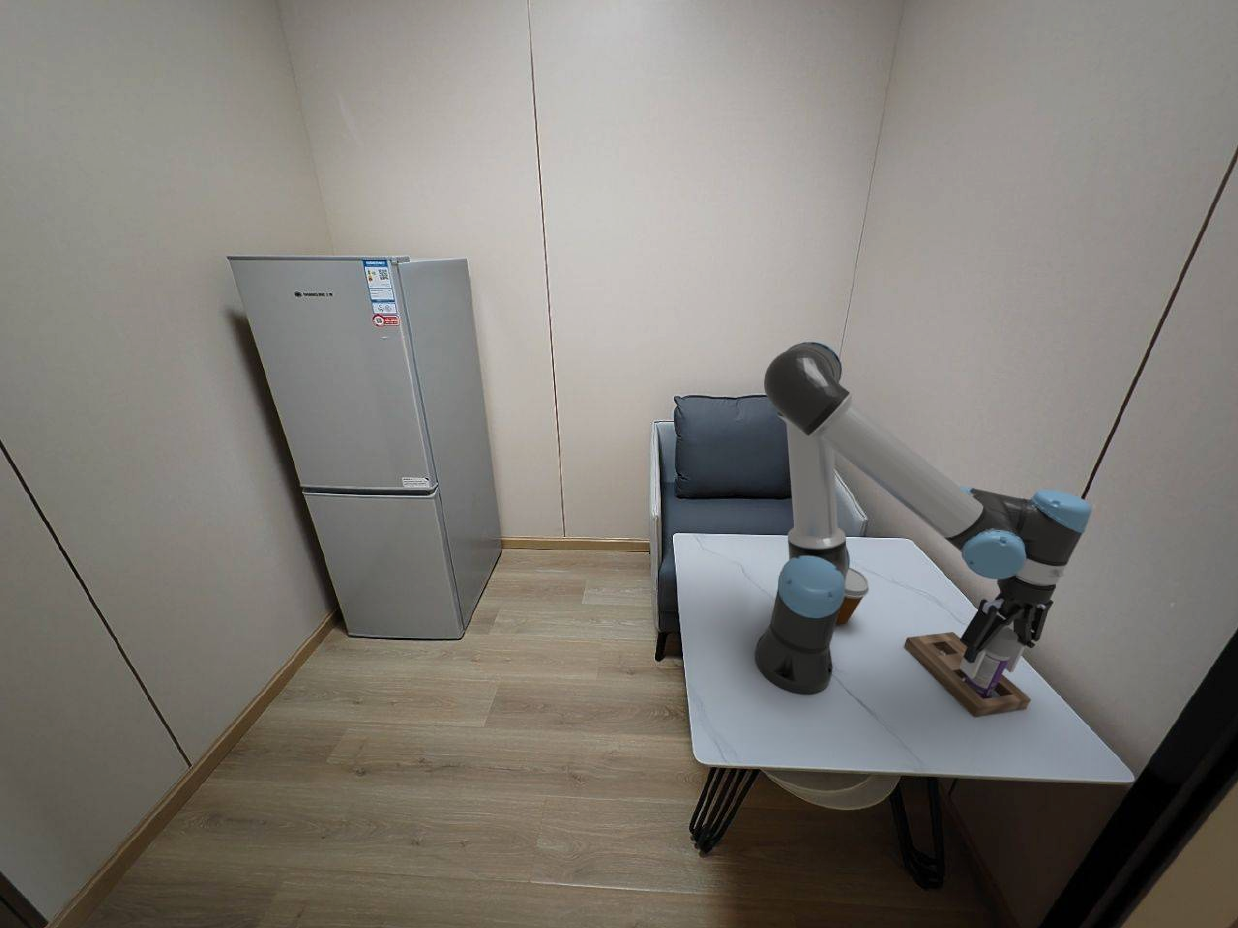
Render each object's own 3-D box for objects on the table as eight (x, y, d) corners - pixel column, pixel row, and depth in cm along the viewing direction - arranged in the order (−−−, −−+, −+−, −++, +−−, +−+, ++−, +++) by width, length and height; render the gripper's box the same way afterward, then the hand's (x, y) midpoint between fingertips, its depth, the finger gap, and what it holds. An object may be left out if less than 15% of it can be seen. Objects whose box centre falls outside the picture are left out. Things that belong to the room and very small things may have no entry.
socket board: (974, 717, 88) (978, 707, 87) (903, 646, 104) (907, 637, 103) (1026, 708, 90) (1031, 699, 89) (949, 640, 106) (953, 631, 105)
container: (981, 681, 96) (1008, 624, 90) (996, 701, 91) (1025, 642, 86) (957, 679, 96) (982, 621, 90) (971, 698, 92) (998, 639, 86)
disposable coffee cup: (810, 620, 111) (823, 582, 105) (815, 595, 118) (828, 558, 112) (853, 637, 107) (869, 598, 101) (856, 610, 114) (871, 573, 109)
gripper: (1000, 593, 77) (956, 692, 86) (1100, 581, 82) (1048, 677, 90) (961, 567, 84) (924, 661, 93) (1055, 557, 88) (1011, 649, 97)
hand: (985, 669), depth 92 cm, fingers open, 8 cm apart
